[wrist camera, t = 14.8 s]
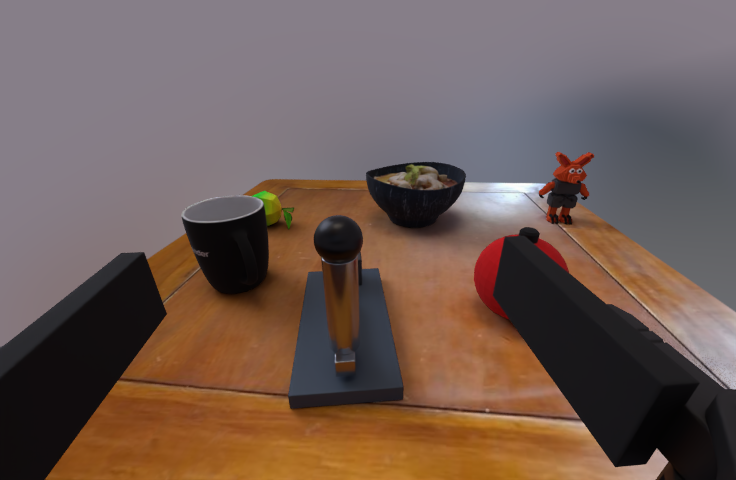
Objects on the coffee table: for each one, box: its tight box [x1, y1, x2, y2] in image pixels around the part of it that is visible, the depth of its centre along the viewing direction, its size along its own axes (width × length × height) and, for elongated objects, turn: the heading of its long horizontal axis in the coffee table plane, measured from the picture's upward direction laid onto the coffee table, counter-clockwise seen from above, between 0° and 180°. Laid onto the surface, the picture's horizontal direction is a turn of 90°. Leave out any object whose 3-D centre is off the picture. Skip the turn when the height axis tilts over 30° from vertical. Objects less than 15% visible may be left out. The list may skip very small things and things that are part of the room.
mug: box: [182, 196, 269, 294], centre depth 38 cm, size 12×9×10 cm
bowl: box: [366, 162, 466, 227], centre depth 57 cm, size 17×17×10 cm
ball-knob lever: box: [314, 215, 363, 377], centre depth 27 cm, size 10×3×13 cm, turn 5°
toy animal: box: [539, 152, 594, 224], centre depth 55 cm, size 8×5×12 cm
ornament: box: [474, 227, 569, 319], centre depth 33 cm, size 9×9×10 cm
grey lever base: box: [288, 252, 403, 409], centre depth 32 cm, size 18×9×5 cm, turn 5°
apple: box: [252, 191, 294, 229], centre depth 57 cm, size 7×6×9 cm
